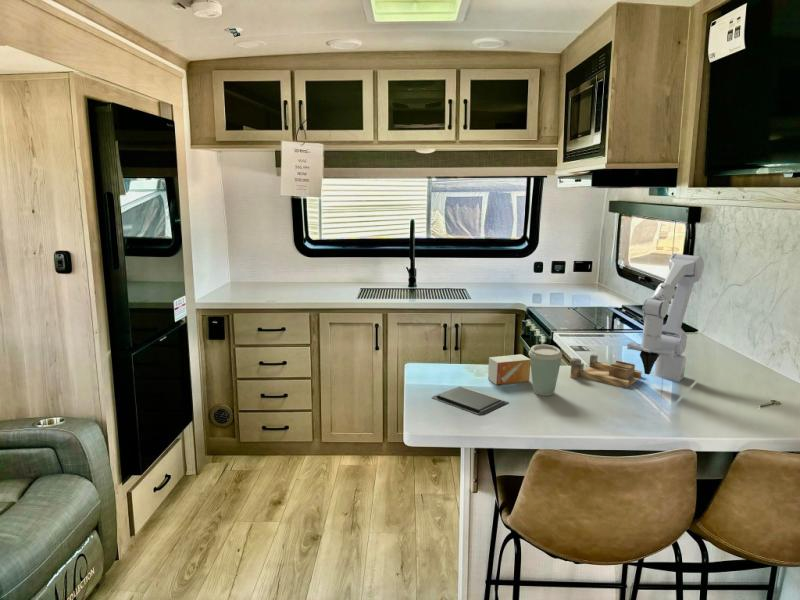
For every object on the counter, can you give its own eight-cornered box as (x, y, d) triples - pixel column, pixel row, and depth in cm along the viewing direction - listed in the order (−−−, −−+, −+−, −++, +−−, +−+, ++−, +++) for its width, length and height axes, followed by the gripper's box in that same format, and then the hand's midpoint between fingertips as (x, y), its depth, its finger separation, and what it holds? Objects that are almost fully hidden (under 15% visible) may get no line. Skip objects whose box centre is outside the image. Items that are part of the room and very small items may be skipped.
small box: (529, 381, 197) (496, 385, 193) (520, 375, 203) (487, 379, 199) (531, 359, 195) (497, 362, 191) (521, 353, 201) (488, 357, 197)
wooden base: (640, 378, 203) (643, 359, 201) (622, 392, 189) (625, 372, 187) (587, 366, 215) (589, 348, 213) (567, 379, 201) (568, 359, 199)
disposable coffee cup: (565, 397, 183) (568, 352, 180) (533, 399, 182) (536, 353, 178) (551, 385, 194) (554, 343, 190) (521, 387, 192) (523, 344, 189)
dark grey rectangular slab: (429, 394, 181) (460, 382, 191) (429, 399, 181) (460, 388, 192) (480, 412, 167) (510, 399, 177) (480, 418, 167) (510, 405, 178)
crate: (633, 378, 201) (635, 363, 200) (625, 384, 195) (627, 369, 194) (616, 374, 205) (617, 359, 204) (608, 380, 199) (609, 365, 197)
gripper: (625, 332, 192) (621, 371, 195) (671, 341, 183) (666, 381, 186) (632, 329, 198) (628, 366, 200) (677, 336, 189) (672, 376, 191)
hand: (647, 373), depth 194 cm, fingers closed
